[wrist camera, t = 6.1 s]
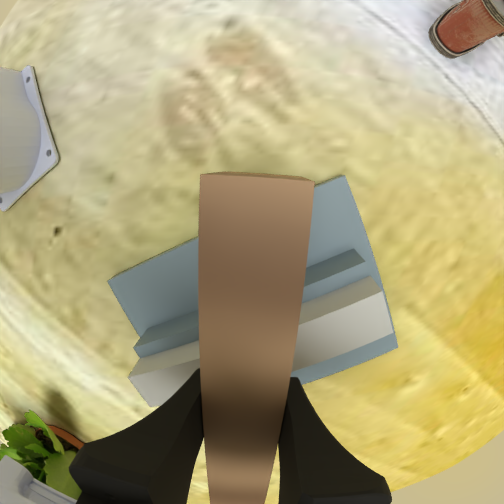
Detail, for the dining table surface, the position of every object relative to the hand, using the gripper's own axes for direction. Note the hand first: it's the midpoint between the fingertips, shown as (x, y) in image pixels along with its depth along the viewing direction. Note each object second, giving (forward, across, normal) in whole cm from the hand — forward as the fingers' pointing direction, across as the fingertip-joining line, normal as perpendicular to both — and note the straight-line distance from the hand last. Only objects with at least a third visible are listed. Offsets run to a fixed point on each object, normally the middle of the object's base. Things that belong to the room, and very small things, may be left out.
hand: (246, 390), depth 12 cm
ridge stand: (+7, 0, 0) cm, 7 cm away
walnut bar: (+2, 0, 0) cm, 2 cm away
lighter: (+8, -13, -22) cm, 27 cm away
